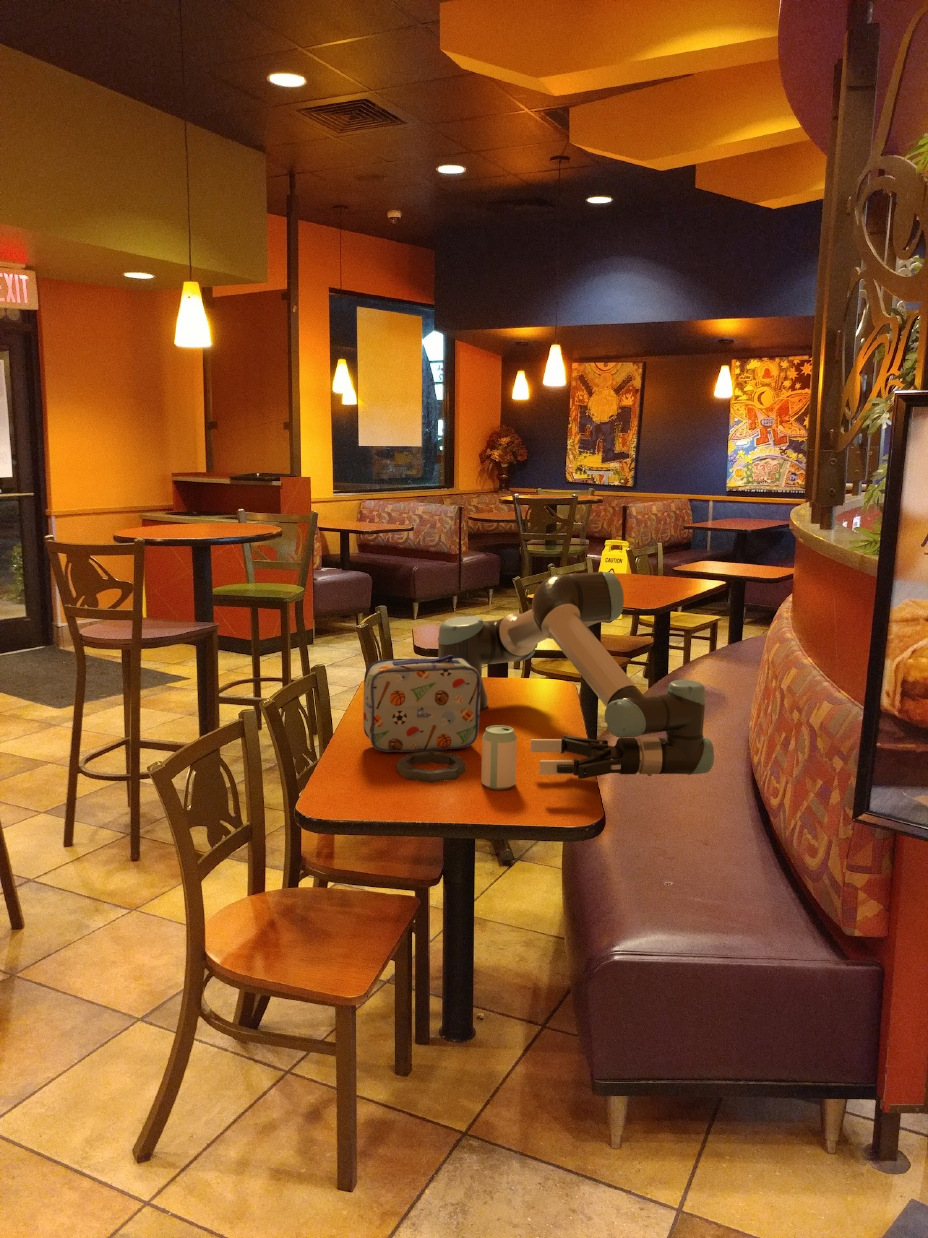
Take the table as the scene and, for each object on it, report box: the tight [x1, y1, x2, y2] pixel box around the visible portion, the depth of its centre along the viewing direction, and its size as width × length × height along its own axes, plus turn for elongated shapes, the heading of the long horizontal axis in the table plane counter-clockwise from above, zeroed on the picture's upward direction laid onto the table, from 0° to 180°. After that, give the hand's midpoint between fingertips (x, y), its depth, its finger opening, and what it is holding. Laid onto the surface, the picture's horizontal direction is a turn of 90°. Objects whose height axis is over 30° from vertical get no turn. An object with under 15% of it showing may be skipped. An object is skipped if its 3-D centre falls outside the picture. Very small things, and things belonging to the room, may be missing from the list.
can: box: [480, 724, 518, 791], centre depth 197 cm, size 7×7×12 cm
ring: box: [396, 750, 466, 784], centre depth 206 cm, size 14×14×2 cm
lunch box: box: [362, 655, 481, 753], centre depth 220 cm, size 28×10×22 cm, turn 105°
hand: (534, 756), depth 197 cm, fingers open, 13 cm apart
